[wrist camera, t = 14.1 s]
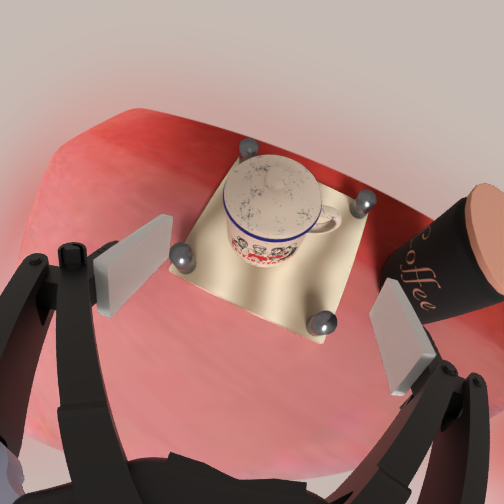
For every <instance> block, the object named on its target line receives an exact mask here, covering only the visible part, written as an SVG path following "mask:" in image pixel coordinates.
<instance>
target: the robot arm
mask: <svg viewBox="0 0 504 504" xmlns="http://www.w3.org/2000/svg"><path fill="white" fill-rule="evenodd" d="M172 225H173V216H169V215H165V214H161V215H159V216H158V217H156V218H154V219H153V220H151V221H150V222H148V223H147V224H145V225H144V226H142V227H140V228H139V229H137V230H136V231H134V232H133V233H131V234H130V235H128V236H127V237H125V238H124V239H122V240H121V241H120V242H119V241H113V242H109V243H107V244H105V245H104V246H102V247H101V248H99V249H98V250H96V251H95V252H94V253H92V254H91V255H89V256H88V257H87V249H86V246H85V245H83V244H81V243H78V242H71V243H66V244H63V245H62V246H60V247H59V249H58V258H59V266H60V267H58V266H53V265H49V262H48V257H47V256H46V255H44V254H41V253H34V254H31V255H29V256H27V257H26V258H25V259H24V260H23V262H22V263H21V265H20V266H19V267H18V269H17V270H16V272H15V274H14V275H13V276H12V278H11V280H10V281H9V283H8V285H7V286H6V287H5V289H4V291H3V292H2V294H1V296H0V504H405V503H406V502H407V500H408V499H409V497H410V495H411V489H409V488H408V486H409V484H410V482H411V481H412V479H413V477H414V475H415V474H416V472H417V470H418V468H419V467H420V465H421V463H422V461H423V459H424V457H425V455H426V454H427V452H428V450H429V448H430V446H431V444H432V441H433V444H432V449H431V454H430V459H429V463H428V468H427V471H426V475H425V479H424V482H423V486H422V489H421V493H420V496H419V499H418V502H417V504H484V503H485V497H486V489H487V481H488V470H489V451H490V450H489V449H490V424H489V405H488V394H487V385H486V382H485V381H484V378H483V377H482V376H481V375H479V374H477V373H471V374H470V375H469V376H468V377H467V378H466V379H464V378H462V377H459V376H458V372H457V369H456V368H455V367H454V365H452V364H451V363H450V362H448V361H446V360H442V358H441V356H440V354H439V351H438V349H437V347H436V346H435V343H434V341H433V340H432V337H431V335H430V333H429V332H428V331H427V330H426V328H425V327H424V326H422V324H421V322H420V321H419V319H418V317H417V315H416V313H415V311H414V309H413V307H412V305H411V304H410V302H409V300H408V298H407V296H406V295H405V293H404V291H403V289H402V288H401V286H400V284H399V282H398V281H397V280H394V279H390V278H387V279H386V281H385V283H384V285H383V287H382V289H381V291H380V293H379V295H378V297H377V299H376V301H375V303H374V305H373V307H372V309H371V311H370V313H369V316H370V320H371V323H372V326H373V329H374V333H375V336H376V340H377V343H378V346H379V350H380V354H381V357H382V361H383V365H384V368H385V372H386V376H387V380H388V384H389V388H390V393H391V395H400V396H404V395H405V394H406V392H407V391H408V390H409V389H410V388H411V390H412V393H413V394H412V395H411V396H410V397H409V398H408V399H407V400H406V401H405V402H404V404H403V405H402V406H401V407H400V409H401V410H400V412H399V413H398V415H397V416H396V418H395V419H394V421H393V422H392V424H391V425H390V426H389V428H388V429H387V431H386V432H385V433H384V435H383V436H382V437H381V439H380V440H379V441H378V443H377V444H376V445H375V446H374V448H373V449H372V450H371V451H370V453H369V454H368V455H367V456H366V458H365V459H364V460H363V461H362V462H361V463H360V465H359V466H358V467H357V468H356V469H355V470H354V471H353V473H352V474H351V475H350V476H349V477H348V478H347V479H346V480H345V481H344V483H342V484H341V486H340V487H339V488H338V489H337V490H336V491H335V492H333V493H332V494H331V495H330V496H328V497H327V498H326V499H323V498H322V497H320V496H318V495H317V494H314V493H312V492H310V491H308V490H306V486H307V483H306V482H298V481H289V480H281V479H255V480H239V479H235V478H233V477H231V476H229V475H227V474H225V473H223V472H221V471H219V470H217V469H215V468H213V467H211V466H209V465H207V464H205V463H203V462H200V461H196V460H193V459H190V458H187V457H184V456H181V455H178V454H175V453H172V452H170V454H169V456H168V458H158V457H148V458H140V459H135V460H131V461H128V460H127V457H126V455H125V452H124V449H123V447H122V444H121V441H120V438H119V435H118V432H117V429H116V426H115V422H114V419H113V415H112V412H111V408H110V404H109V401H108V397H107V393H106V389H105V384H104V380H103V375H102V371H101V366H100V361H99V355H98V350H97V344H96V337H95V331H94V323H93V315H92V308H91V307H92V306H93V305H94V304H95V303H97V311H98V313H100V314H102V315H104V316H106V317H108V318H112V317H113V316H114V315H115V314H116V313H117V311H118V310H119V309H120V308H121V307H122V306H123V305H124V304H125V303H126V302H127V301H128V300H129V298H130V297H131V296H132V295H133V294H134V293H135V292H136V291H137V290H138V289H139V288H140V287H141V286H142V285H143V284H144V283H145V282H146V281H147V279H148V278H149V277H150V276H151V275H152V274H153V273H154V272H155V271H156V270H157V269H158V268H159V267H160V266H161V265H162V264H163V263H164V262H165V261H166V260H167V259H168V258H169V250H170V241H171V233H172ZM55 310H56V357H57V374H58V385H59V395H60V407H58V409H57V414H58V422H59V428H60V434H61V439H62V444H63V449H64V454H65V458H66V462H67V466H68V470H69V474H70V477H71V480H72V482H70V483H66V484H63V485H59V486H56V487H52V488H48V489H44V490H40V491H35V492H31V493H27V494H25V492H24V490H23V487H22V483H23V481H24V475H23V470H22V466H21V464H20V461H19V460H18V456H19V452H20V449H21V445H22V439H23V433H24V426H25V419H26V413H27V408H28V402H29V397H30V392H31V388H32V384H33V379H34V375H35V371H36V367H37V364H38V360H39V356H40V353H41V350H42V346H43V343H44V340H45V337H46V334H47V331H48V328H49V325H50V322H51V319H52V316H53V313H54V311H55Z"/></svg>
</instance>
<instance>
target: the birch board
mask: <svg viewBox="0 0 504 504" xmlns="http://www.w3.org/2000/svg"><path fill="white" fill-rule="evenodd" d="M238 165H239V157H238V159H237V160H236V162H235V163H234V165H233V166H232V168H231V169H230V171H229V172H228V174H227V175H226V177H225V178H224V180H223V181H222V183H221V184H220V186H219V187H218V189H217V190H216V192H215V194H214V195H213V197H212V198H211V200H210V201H209V203H208V205H207V206H206V208H205V209H204V211H203V213H202V214H201V216H200V217H199V219H198V221H197V222H196V224H195V226H194V227H193V229H192V230H191V232H190V234H189V235H188V237H187V239H186V240H185V242H184V243H186V244H188V245H189V246H190V248H191V250H192V252H193V254H194V257H195V259H196V263H197V264H196V268H195V270H194V271H193V272H192V273H190V274H182V273H180V272H179V271H178V270H177V269H176V267H175V266H174V264H173V263H172V264H171V266H170V268H169V271H170V272H171V273H172V274H174V275H176V276H178V277H179V278H181V279H183V280H185V281H187V282H189V283H191V284H193V285H195V286H197V287H199V288H201V289H203V290H205V291H207V292H209V293H211V294H213V295H215V296H217V297H219V298H221V299H223V300H225V301H227V302H229V303H231V304H233V305H235V306H237V307H239V308H241V309H243V310H245V311H247V312H249V313H252V314H254V315H256V316H258V317H260V318H262V319H264V320H267V321H269V322H271V323H273V324H275V325H277V326H280V327H282V328H284V329H286V330H289V331H291V332H293V333H295V334H298V335H300V336H302V337H304V338H307V339H309V340H311V341H314V342H316V343H318V344H322V343H323V342H324V340H325V337H326V335H322V336H317V337H315V336H312V335H310V334H309V333H308V332H307V330H306V322H307V320H308V319H309V318H310V317H311V316H313V315H315V314H317V313H319V312H321V311H324V310H328V311H331V312H332V313H333V314H334V315H335V312H336V310H337V307H338V304H339V302H340V299H341V296H342V294H343V291H344V288H345V285H346V282H347V280H348V277H349V274H350V271H351V268H352V265H353V262H354V259H355V256H356V253H357V249H358V246H359V243H360V240H361V237H362V233H363V230H364V226H365V223H366V220H367V216H368V214H367V215H366V216H365V217H364V218H363V219H356V218H354V217H353V216H352V215H351V213H350V206H351V204H352V203H353V201H354V199H352V198H350V197H348V196H346V195H344V194H342V193H340V192H338V191H336V190H334V189H332V188H330V187H328V186H325V185H323V184H321V183H319V182H317V183H318V185H319V187H320V191H321V195H322V205H326V206H330V207H333V208H335V209H337V210H338V211H339V212H340V213H341V216H342V222H341V225H340V226H339V227H338V228H337V229H335V230H334V231H332V232H329V233H325V234H307V235H306V236H305V238H304V240H303V242H302V243H301V245H300V247H299V249H298V250H297V252H296V253H295V255H294V256H293V257H292V258H291V259H290V260H288V261H287V262H285V263H283V264H281V265H279V266H275V267H269V268H264V267H257V266H253V265H251V264H248V263H246V262H245V261H243V260H242V259H241V258H239V257H238V256H237V255H236V253H235V252H234V251H233V249H232V247H231V245H230V243H229V239H228V232H227V216H226V211H225V208H224V204H223V189H224V185H225V182H226V180H227V178H228V177H229V175H230V174H231V172H232V171H233V170H234V169H235V168H236V167H237V166H238ZM330 220H331V219H329V218H324V217H319V219H318V220H317V222H316V224H318V223H325V222H327V221H330Z"/></svg>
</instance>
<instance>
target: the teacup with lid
mask: <svg viewBox="0 0 504 504" xmlns="http://www.w3.org/2000/svg"><path fill="white" fill-rule="evenodd" d="M223 204H224V208H225V211H226V216H227V232H228V239H229V243H230V245H231V247H232V249H233V251H234V252H235V253H236V255H237V256H238V257H239V258H241V259H242V260H243V261H245V262H246V263H248V264H251V265H253V266H257V267H264V268H269V267H275V266H279V265H281V264H283V263H285V262H287V261H288V260H290V259H291V258H292V257H293V256H294V255H295V253H296V252H297V250H298V249H299V247H300V245H301V243H302V242H303V240H304V238H305V236H306V235H307V234H325V233H329V232H332V231H334V230H335V229H337V228H338V227H339V226H340V225H341V222H342V216H341V213H340V212H339V211H338V210H337V209H335V208H333V207H330V206H326V205H322V195H321V191H320V187H319V185H318V183H317V181H316V179H315V178H314V176H313V175H312V174H311V173H310V171H309V170H308V169H306V168H305V167H304V166H303V165H301V164H300V163H298V162H296V161H294V160H292V159H290V158H287V157H284V156H279V155H260V156H256V157H253V158H250V159H248V160H246V161H244V162H242V163H241V164H239V165H238V166H237V167H236V168H235V169H234V170H233V171H232V172H231V174H230V175H229V177H228V178H227V180H226V182H225V185H224V189H223ZM319 217H324V218H329V219H331V220H330V221H327V222H325V223H318V224H316V222H317V220H318V219H319Z"/></svg>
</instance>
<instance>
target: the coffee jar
mask: <svg viewBox="0 0 504 504" xmlns="http://www.w3.org/2000/svg"><path fill="white" fill-rule="evenodd" d="M387 278H390V279H394V280H397V281H398V282H399V284H400V286H401V288H402V289H403V291H404V293H405V295H406V296H407V298H408V300H409V302H410V304H411V305H412V307H413V309H414V311H415V313H416V315H417V317H418V319H419V321H420V322H421V324H422V325H424V324H428V323H432V322H436V321H440V320H444V319H448V318H451V317H455V316H458V315H462V314H465V313H469V312H472V311H475V310H479V309H482V308H485V307H488V306H491V305H494V304H497V303H500V302H503V301H504V193H503V192H502V191H500V190H499V189H497V188H496V187H495V186H493V185H490V184H486V183H484V184H479V185H476V187H475V188H474V189H473V190H472V191H471V192H470V194H469V195H468V197H465V198H462V199H460V200H459V201H458V202H457V203H455V204H454V205H453V206H452V207H451V208H449V209H448V210H447V211H446V212H445V213H444V214H442V215H441V216H440V217H438V218H437V219H436V220H435V221H433V222H432V223H431V224H430V225H428V226H427V227H426V228H425V229H423V230H422V231H421V232H420V233H418V234H417V235H416V236H414V237H413V238H412V239H410V240H409V241H408V242H406V243H405V244H404V245H402V246H401V247H400V248H398V249H397V250H396V251H395V252H394V253H393V254H391V255H390V256H389V257H388V259H387V261H386V263H385V265H384V267H383V271H382V277H381V287H383V285H384V283H385V281H386V279H387Z"/></svg>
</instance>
